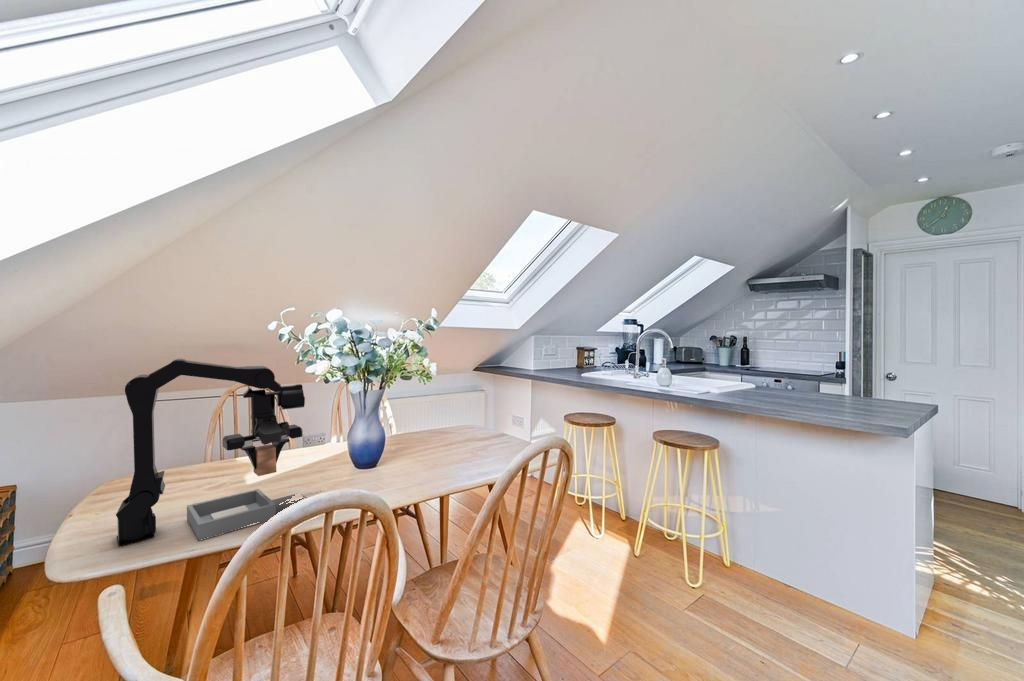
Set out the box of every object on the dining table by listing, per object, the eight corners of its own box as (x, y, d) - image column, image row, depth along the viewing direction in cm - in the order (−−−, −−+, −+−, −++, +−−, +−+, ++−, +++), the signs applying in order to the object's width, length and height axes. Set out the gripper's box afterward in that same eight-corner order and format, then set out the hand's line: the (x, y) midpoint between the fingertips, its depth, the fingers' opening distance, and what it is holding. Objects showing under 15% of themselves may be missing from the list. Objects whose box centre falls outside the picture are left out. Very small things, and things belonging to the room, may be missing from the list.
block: (258, 476, 116) (257, 451, 116) (253, 472, 120) (252, 447, 119) (276, 472, 120) (275, 447, 119) (271, 468, 123) (270, 444, 122)
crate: (198, 541, 103) (198, 524, 103) (187, 520, 114) (186, 505, 113) (275, 518, 115) (275, 504, 115) (258, 502, 126) (258, 488, 126)
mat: (274, 515, 117) (274, 513, 117) (263, 504, 124) (263, 502, 124) (312, 504, 125) (312, 502, 125) (299, 494, 132) (299, 492, 132)
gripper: (231, 422, 107) (233, 483, 107) (309, 410, 120) (310, 465, 121) (220, 415, 114) (223, 472, 115) (294, 405, 128) (296, 456, 128)
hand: (265, 466), depth 120 cm, fingers closed on block, 4 cm apart
